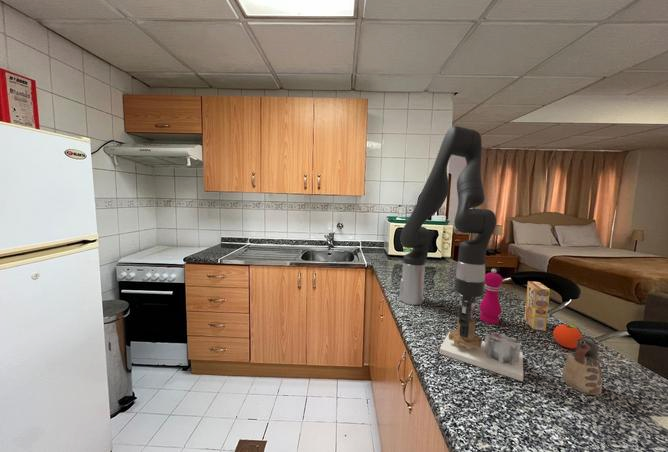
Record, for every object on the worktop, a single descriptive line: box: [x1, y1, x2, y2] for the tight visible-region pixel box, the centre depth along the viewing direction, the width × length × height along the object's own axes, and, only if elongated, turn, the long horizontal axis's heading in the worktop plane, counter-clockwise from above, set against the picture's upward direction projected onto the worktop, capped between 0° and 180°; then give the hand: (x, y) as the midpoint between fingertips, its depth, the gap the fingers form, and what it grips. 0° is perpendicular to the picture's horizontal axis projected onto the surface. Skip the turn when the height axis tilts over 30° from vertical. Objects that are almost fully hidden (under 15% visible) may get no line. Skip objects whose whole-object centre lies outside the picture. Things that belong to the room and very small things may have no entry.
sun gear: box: [485, 331, 522, 366], centre depth 75 cm, size 8×8×5 cm
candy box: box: [524, 280, 551, 332], centre depth 98 cm, size 9×4×15 cm, turn 162°
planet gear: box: [448, 316, 483, 349], centre depth 80 cm, size 9×9×6 cm
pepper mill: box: [479, 268, 503, 325], centre depth 101 cm, size 7×7×20 cm
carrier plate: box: [439, 331, 524, 382], centre depth 78 cm, size 20×13×7 cm, turn 56°
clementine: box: [553, 324, 583, 349], centre depth 84 cm, size 8×7×7 cm
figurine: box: [562, 337, 603, 396], centre depth 66 cm, size 7×7×12 cm
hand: (465, 332), depth 80 cm, fingers closed on planet gear, 4 cm apart
